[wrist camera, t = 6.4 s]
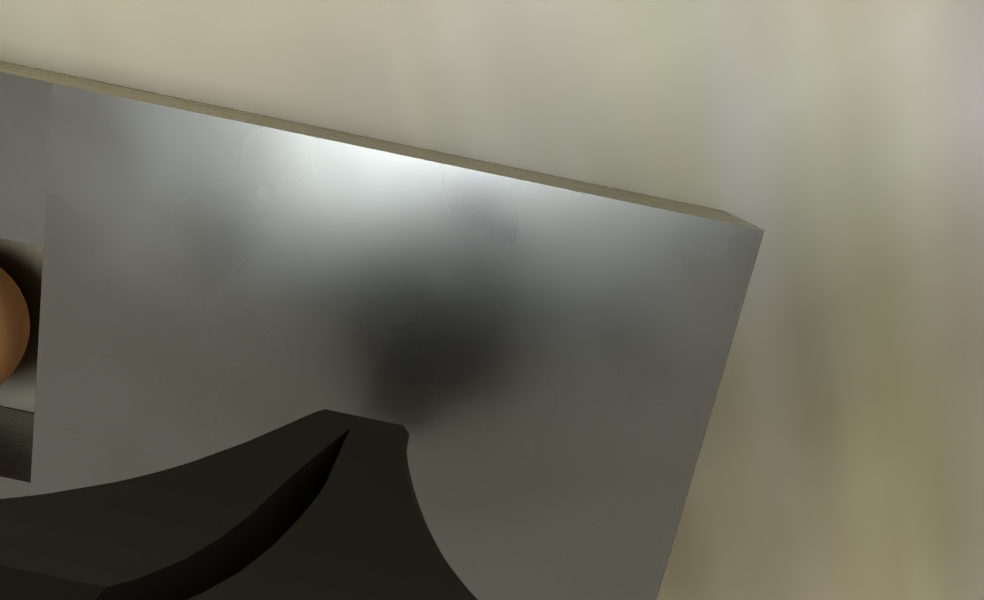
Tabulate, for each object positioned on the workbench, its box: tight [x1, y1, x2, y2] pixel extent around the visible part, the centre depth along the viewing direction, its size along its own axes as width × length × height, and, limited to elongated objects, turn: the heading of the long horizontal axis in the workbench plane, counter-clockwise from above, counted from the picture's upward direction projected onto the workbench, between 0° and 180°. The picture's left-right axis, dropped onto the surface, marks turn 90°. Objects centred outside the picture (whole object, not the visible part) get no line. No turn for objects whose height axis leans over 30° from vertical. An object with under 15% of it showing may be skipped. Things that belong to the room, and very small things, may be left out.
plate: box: [0, 61, 764, 600], centre depth 15 cm, size 18×10×2 cm, turn 78°
